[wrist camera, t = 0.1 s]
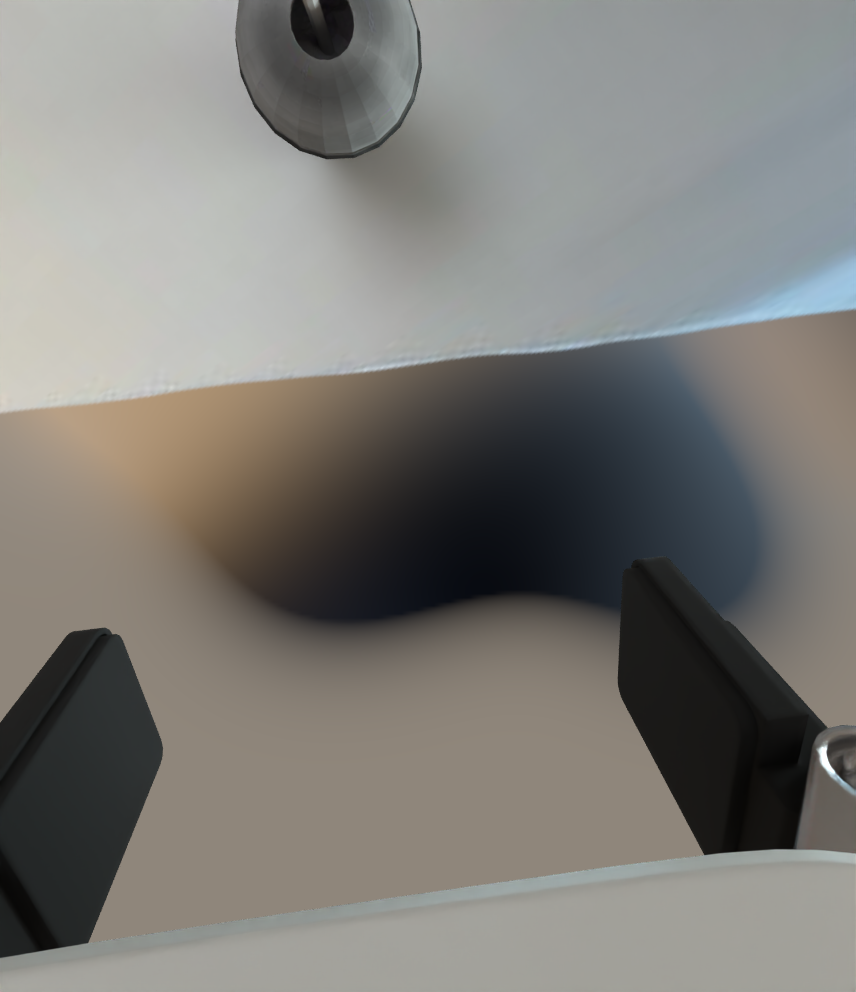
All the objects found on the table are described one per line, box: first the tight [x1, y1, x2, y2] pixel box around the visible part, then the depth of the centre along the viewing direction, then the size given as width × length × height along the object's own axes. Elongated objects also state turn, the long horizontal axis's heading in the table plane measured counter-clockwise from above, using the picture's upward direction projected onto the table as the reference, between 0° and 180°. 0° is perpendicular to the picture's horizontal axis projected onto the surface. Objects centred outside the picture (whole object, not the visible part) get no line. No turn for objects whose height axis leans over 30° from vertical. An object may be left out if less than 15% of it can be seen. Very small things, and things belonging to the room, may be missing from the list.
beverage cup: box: [235, 0, 422, 159], centre depth 25 cm, size 7×7×20 cm
